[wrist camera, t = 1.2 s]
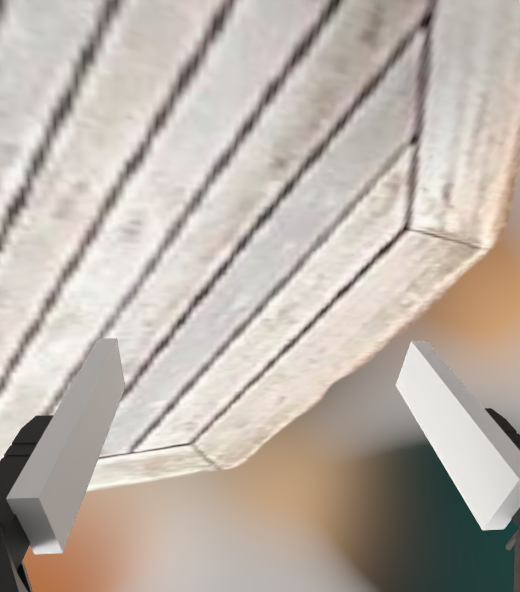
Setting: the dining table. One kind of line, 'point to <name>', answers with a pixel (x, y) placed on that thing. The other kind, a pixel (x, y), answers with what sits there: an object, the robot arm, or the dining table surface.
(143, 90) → the dining table surface
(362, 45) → the dining table surface
